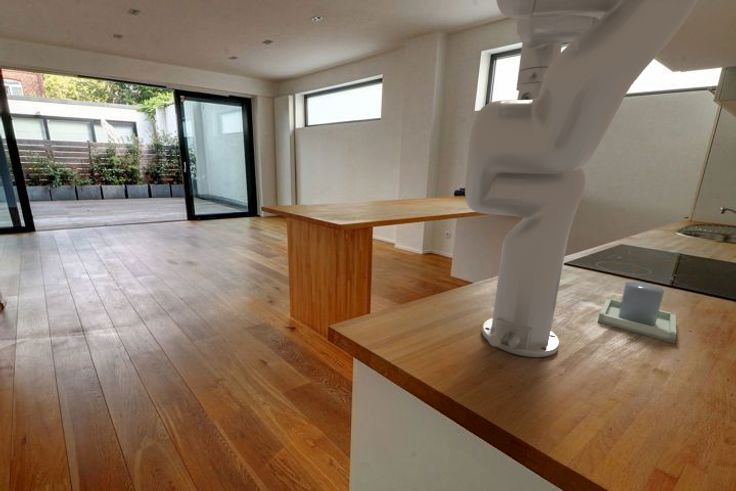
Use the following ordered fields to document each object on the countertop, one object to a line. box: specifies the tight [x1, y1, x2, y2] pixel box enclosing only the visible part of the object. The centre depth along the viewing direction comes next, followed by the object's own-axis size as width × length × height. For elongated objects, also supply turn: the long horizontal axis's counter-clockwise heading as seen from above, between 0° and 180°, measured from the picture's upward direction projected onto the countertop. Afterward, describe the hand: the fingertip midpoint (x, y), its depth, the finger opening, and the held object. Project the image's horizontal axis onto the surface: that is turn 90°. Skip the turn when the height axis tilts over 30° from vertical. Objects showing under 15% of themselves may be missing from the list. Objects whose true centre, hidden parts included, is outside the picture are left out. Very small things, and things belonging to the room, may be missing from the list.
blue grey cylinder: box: [618, 281, 665, 326], centre depth 68 cm, size 6×6×7 cm
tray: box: [597, 297, 677, 344], centre depth 68 cm, size 12×12×2 cm
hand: (524, 164), depth 76 cm, fingers open, 9 cm apart
